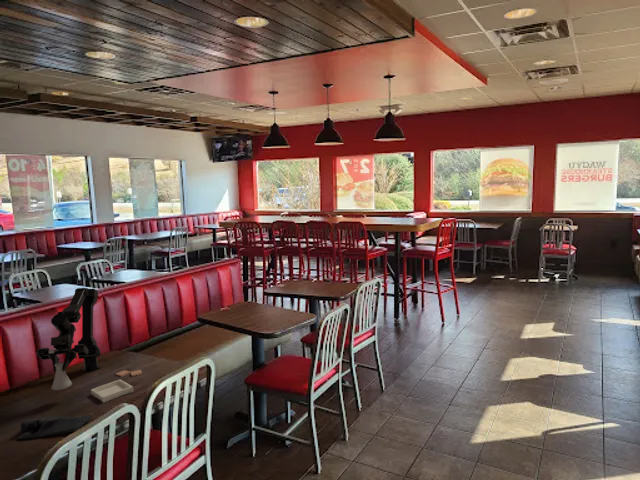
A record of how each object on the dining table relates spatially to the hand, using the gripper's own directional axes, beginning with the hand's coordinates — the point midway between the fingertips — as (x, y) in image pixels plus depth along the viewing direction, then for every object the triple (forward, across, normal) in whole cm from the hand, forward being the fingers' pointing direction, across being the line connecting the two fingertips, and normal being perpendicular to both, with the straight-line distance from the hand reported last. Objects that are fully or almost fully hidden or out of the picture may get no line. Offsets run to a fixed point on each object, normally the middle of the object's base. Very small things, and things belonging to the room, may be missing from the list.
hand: (59, 371), depth 194 cm
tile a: (-7, +18, +26) cm, 32 cm away
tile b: (-6, +24, +25) cm, 35 cm away
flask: (+5, 0, +6) cm, 7 cm away
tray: (+7, +19, +11) cm, 23 cm away
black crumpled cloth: (+26, +6, -7) cm, 27 cm away
